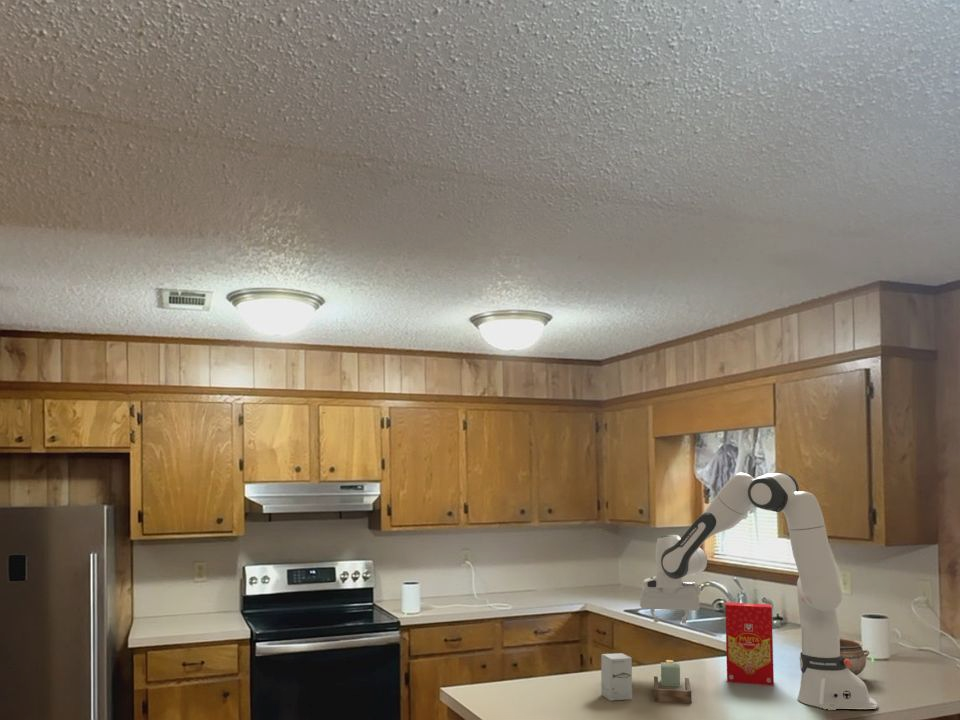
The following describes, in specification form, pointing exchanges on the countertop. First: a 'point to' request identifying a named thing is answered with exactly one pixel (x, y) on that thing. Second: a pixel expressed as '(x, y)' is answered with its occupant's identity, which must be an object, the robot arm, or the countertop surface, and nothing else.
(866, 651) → the cooking pot
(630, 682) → the supplement box
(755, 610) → the food packaging
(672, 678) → the block
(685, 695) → the lane
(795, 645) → the countertop surface
